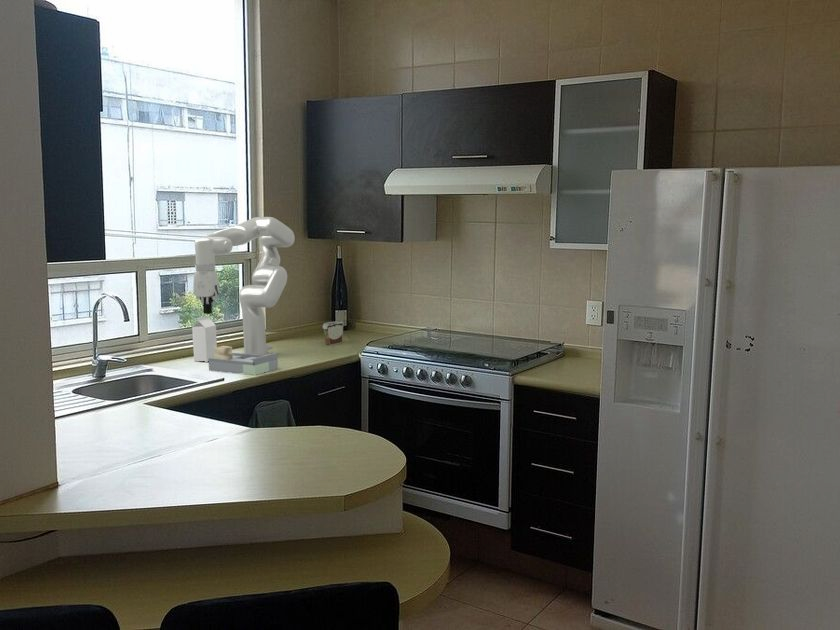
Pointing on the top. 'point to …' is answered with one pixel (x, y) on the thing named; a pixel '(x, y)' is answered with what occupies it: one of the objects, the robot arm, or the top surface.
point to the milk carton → (204, 339)
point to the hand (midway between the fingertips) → (207, 313)
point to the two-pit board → (245, 363)
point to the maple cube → (223, 352)
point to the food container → (333, 332)
